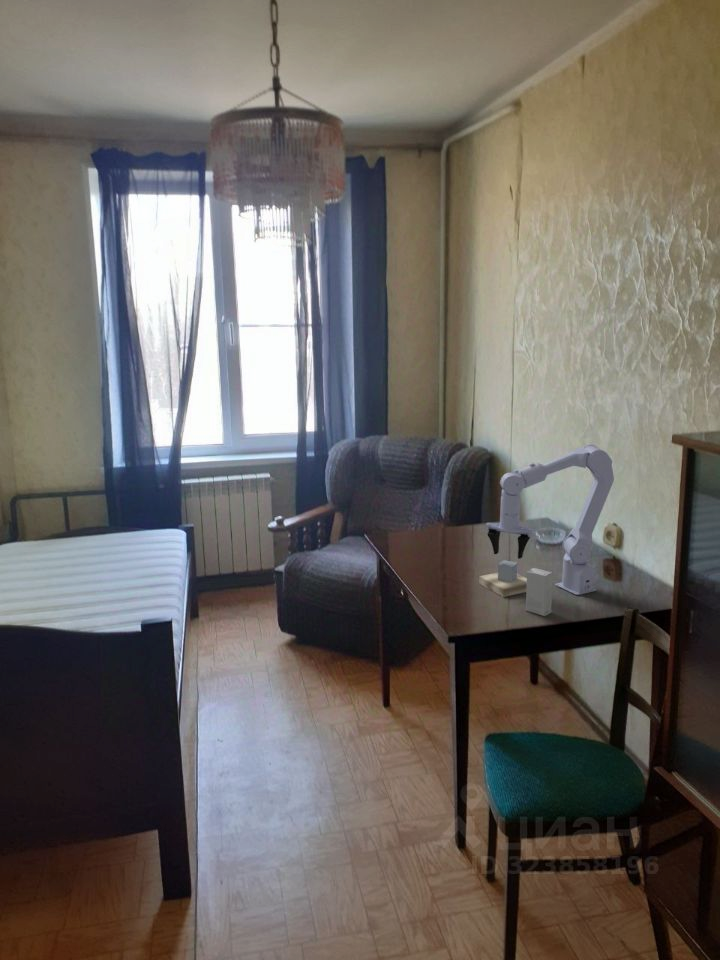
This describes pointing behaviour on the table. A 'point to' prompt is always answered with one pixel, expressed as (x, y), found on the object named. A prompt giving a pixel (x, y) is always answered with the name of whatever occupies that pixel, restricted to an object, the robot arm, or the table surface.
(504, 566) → the slate block
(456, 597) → the table surface
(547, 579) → the skincare box
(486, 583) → the birch base
